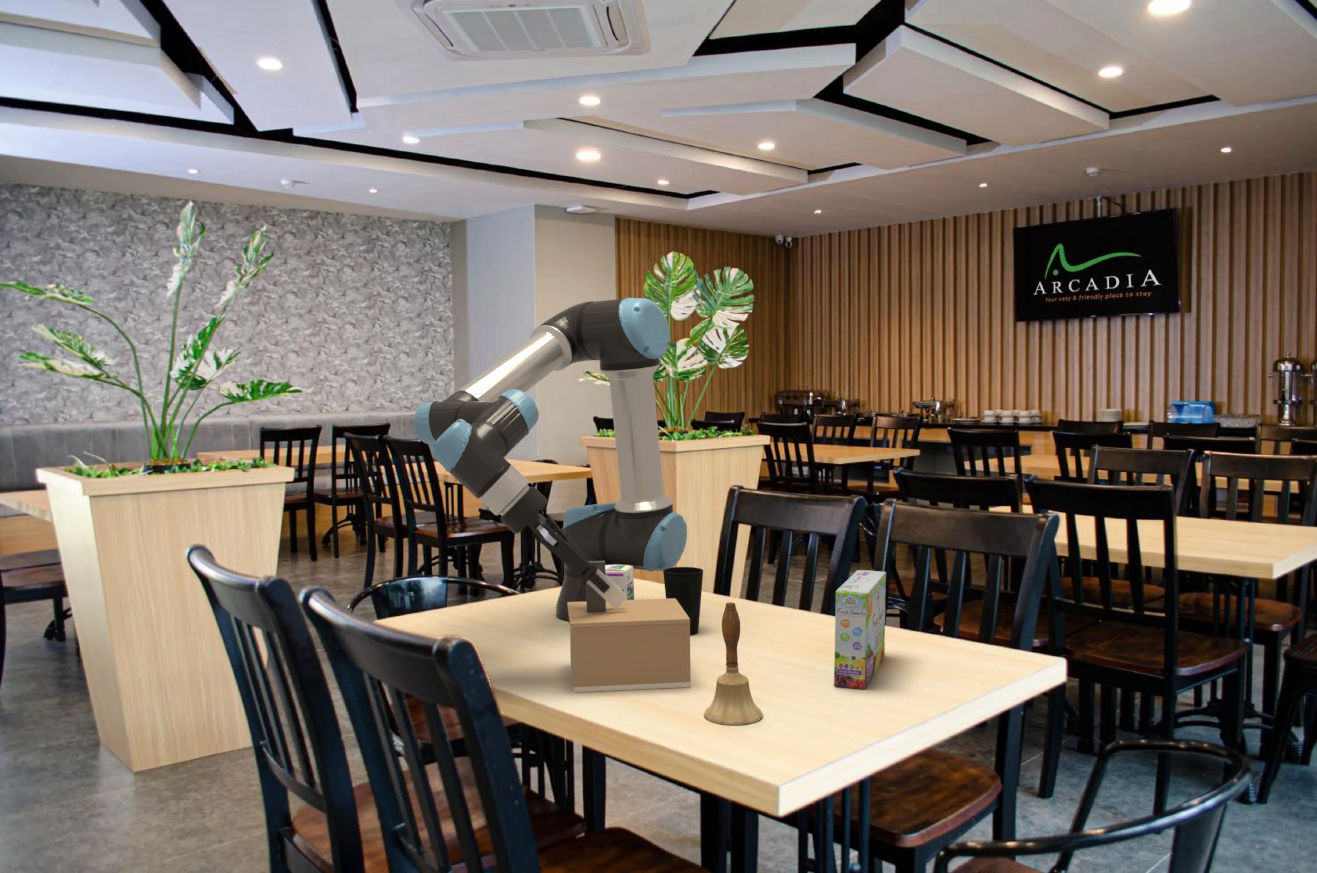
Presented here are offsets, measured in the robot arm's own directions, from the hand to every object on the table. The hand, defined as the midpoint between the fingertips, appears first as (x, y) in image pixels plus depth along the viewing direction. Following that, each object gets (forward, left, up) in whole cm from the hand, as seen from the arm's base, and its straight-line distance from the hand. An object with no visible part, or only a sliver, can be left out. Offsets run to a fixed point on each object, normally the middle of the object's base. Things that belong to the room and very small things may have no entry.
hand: (620, 601), depth 158 cm
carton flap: (-1, 0, -2) cm, 2 cm away
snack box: (-34, +19, -12) cm, 41 cm away
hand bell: (-3, +26, -12) cm, 29 cm away
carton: (-1, 0, -12) cm, 12 cm away
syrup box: (-9, -18, -12) cm, 23 cm away
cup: (-25, -20, -12) cm, 34 cm away
